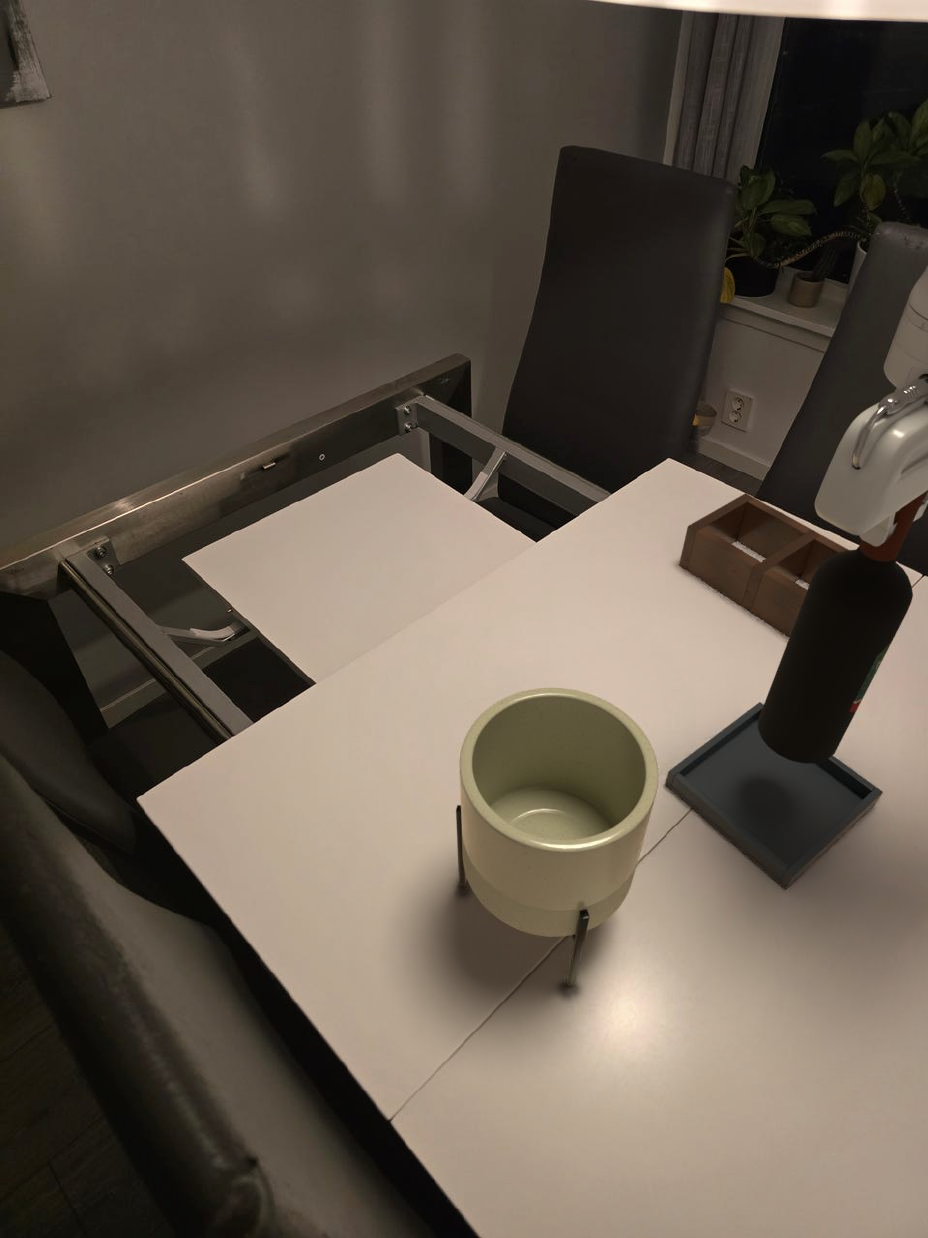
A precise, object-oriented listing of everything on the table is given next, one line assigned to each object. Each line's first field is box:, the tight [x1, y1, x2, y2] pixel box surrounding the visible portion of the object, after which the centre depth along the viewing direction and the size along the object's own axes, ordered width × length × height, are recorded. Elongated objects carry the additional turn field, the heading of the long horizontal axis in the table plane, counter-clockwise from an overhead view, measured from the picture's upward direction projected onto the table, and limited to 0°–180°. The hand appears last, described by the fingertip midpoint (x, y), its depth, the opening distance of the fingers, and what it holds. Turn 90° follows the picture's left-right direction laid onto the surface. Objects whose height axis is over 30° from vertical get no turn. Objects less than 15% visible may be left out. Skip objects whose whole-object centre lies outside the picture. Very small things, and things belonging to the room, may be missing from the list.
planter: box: [455, 687, 660, 988], centre depth 68 cm, size 15×16×23 cm
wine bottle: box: [758, 490, 928, 764], centre depth 67 cm, size 8×8×30 cm
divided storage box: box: [678, 492, 849, 638], centre depth 106 cm, size 24×12×7 cm, turn 38°
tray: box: [664, 701, 884, 890], centre depth 84 cm, size 16×16×2 cm
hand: (889, 528), depth 60 cm, fingers closed on wine bottle, 3 cm apart
